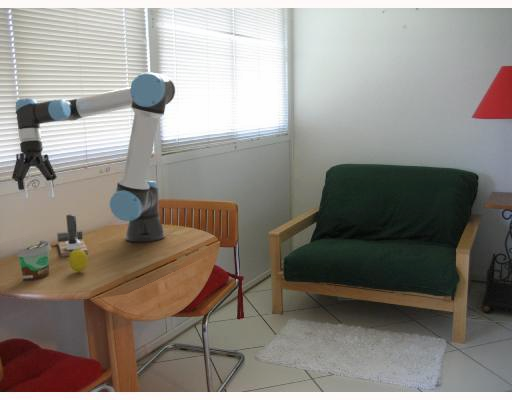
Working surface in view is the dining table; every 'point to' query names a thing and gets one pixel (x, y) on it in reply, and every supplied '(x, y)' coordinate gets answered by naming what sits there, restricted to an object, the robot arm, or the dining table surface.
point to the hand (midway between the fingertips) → (38, 198)
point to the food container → (35, 261)
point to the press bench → (64, 237)
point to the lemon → (78, 260)
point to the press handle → (72, 233)
